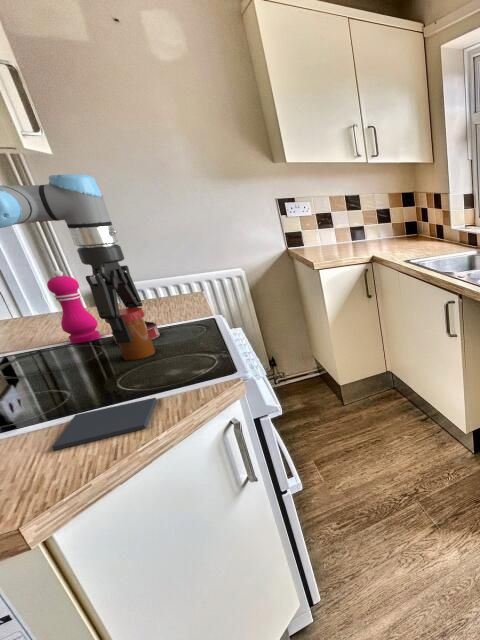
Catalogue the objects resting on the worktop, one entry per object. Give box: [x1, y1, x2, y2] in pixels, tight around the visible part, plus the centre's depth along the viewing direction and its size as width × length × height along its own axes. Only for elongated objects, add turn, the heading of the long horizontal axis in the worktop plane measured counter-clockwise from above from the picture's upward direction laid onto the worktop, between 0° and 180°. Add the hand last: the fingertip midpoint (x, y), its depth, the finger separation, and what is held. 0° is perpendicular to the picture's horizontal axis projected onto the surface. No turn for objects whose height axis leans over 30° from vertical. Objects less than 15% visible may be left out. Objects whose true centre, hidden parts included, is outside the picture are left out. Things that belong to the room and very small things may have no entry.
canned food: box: [111, 320, 161, 345], centre depth 119 cm, size 11×10×10 cm
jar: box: [117, 318, 156, 361], centre depth 106 cm, size 6×6×11 cm
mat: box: [51, 397, 158, 451], centre depth 77 cm, size 12×12×1 cm
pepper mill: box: [46, 270, 102, 344], centre depth 117 cm, size 7×7×20 cm
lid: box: [104, 307, 146, 324], centre depth 104 cm, size 7×7×2 cm
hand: (132, 337), depth 106 cm, fingers closed on lid, 7 cm apart
